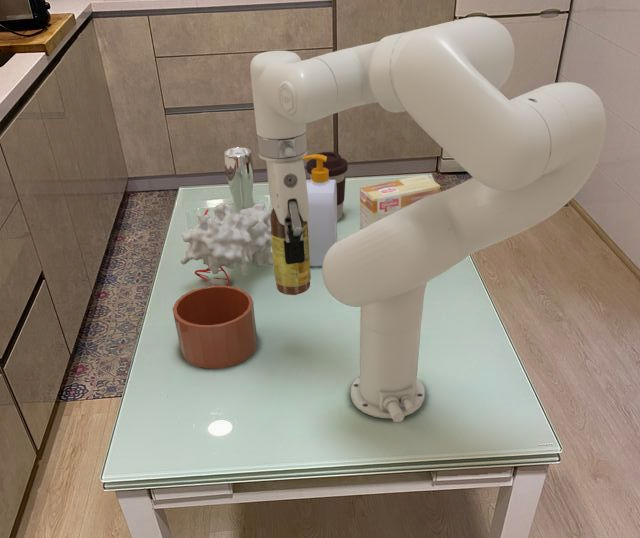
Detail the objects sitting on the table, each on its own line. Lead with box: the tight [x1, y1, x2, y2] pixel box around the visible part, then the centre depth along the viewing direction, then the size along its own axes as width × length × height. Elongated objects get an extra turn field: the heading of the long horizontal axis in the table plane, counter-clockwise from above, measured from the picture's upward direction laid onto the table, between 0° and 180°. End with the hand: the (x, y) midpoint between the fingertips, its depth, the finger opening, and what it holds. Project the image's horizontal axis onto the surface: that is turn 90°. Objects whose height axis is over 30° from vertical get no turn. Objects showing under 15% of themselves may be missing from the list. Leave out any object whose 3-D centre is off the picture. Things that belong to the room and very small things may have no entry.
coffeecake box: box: [359, 174, 441, 230], centre depth 140 cm, size 15×7×20 cm, turn 111°
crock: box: [172, 284, 258, 370], centre depth 125 cm, size 14×14×9 cm
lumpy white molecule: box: [180, 202, 274, 286], centre depth 142 cm, size 20×18×25 cm
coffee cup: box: [306, 151, 349, 221], centre depth 165 cm, size 10×10×15 cm
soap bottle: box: [303, 153, 338, 267], centre depth 145 cm, size 9×7×23 cm
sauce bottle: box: [270, 179, 312, 296], centre depth 112 cm, size 7×6×20 cm
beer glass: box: [223, 146, 256, 214], centre depth 169 cm, size 7×7×15 cm
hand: (290, 252), depth 114 cm, fingers closed on sauce bottle, 6 cm apart
